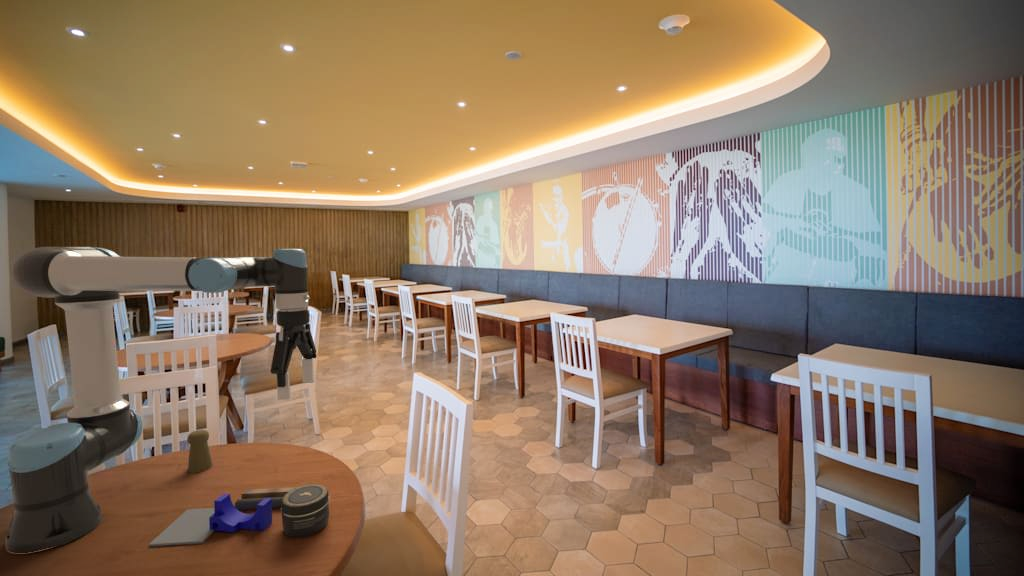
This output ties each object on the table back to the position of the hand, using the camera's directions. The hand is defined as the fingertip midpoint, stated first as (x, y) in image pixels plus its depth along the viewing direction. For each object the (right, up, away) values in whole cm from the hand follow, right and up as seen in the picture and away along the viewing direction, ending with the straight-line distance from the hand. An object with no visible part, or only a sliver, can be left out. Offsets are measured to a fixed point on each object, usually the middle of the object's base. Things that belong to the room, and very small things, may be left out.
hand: (296, 390), depth 115 cm
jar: (+8, -29, -13) cm, 32 cm away
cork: (-36, -27, +15) cm, 47 cm away
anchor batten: (-5, -28, -2) cm, 28 cm away
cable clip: (-6, -28, -13) cm, 32 cm away
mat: (-18, -29, -12) cm, 36 cm away
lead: (-5, -28, -5) cm, 29 cm away
